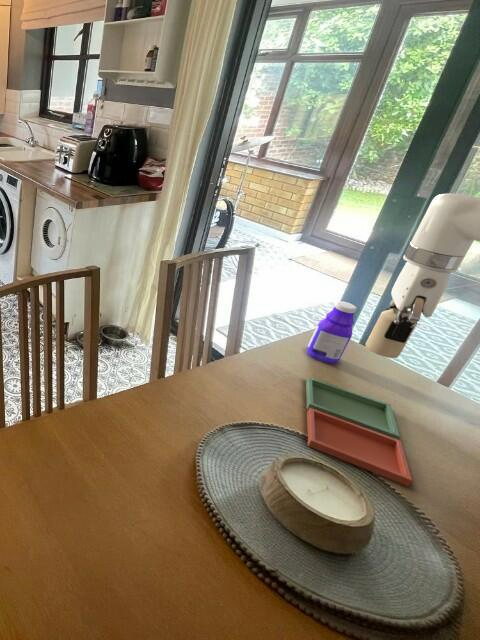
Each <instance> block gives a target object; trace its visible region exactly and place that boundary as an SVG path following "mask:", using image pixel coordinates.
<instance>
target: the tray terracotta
mask: <svg viewBox="0 0 480 640" xmlns="http://www.w3.org/2000/svg"><path fill="white" fill-rule="evenodd" d="M306 421H307V424H306V425H307V446H308V447H310V448H312V449H315V450H317V451H320V452H322V453H324V454H326V455H327V454H328V455H330V456H332V457H335V458H337V459H339V460H342V461H345V462H347V463H349V464H352V465H354V466H357V467H358V468H361V469H364V470H367V471H369V472H371V473H374V474H377V475H378V476H381V477H384V478H387V479H389V480H391V481H394V482H396V483H398V484H402V485H403V486H406V487H409V486H410V485H411V483H412V482H413V478H412V474H411V471H410V467H409V464H408V461H407V457H406V453H405V449H404V448H403V443H402V440H400V439H398V440H397V439H394V438H392V437H389V436H386V435H383V434H381V433H378V432H375V431H373V430H370V429H367V428H364V427H362V426H359V425H356V424H353V423H351V422H348V421H345V420H342V419H340V418H337V417H334V416H331V415H329V414H326V413H323V412H320V411H318V410H315V409H312V408H309V410H308V409H307V412H306Z"/></svg>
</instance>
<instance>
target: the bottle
mask: <svg viewBox="0 0 480 640" xmlns="http://www.w3.org/2000/svg"><path fill="white" fill-rule="evenodd" d="M356 310H357V306H356V305H354V304H352V303H350V302H347V301H339V300H338V301H336V303H335V305H334V307H333V309H332V310H331V311H329V312H327V313H326V314H325V316H326V317H325V318H323V319H321V320H320V321H319V322H318V323H317V325H316V326H315V329H314V331H313V334H312V335H311V338H310V340H309V342H308V344H307V347H306V348H307V355H308V356H309V357H311V358H312V359H315V360H317V361H320V362H324V363H327V364H336V363H338V362H339V361H340V360H341V357H342V356H343V354H344V352H345V350H346V348H347V346H348V345H349V342H350V340H351V338H352V337H353V325H354V324H355V321H354V315H355V313H356Z"/></svg>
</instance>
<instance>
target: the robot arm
mask: <svg viewBox="0 0 480 640" xmlns="http://www.w3.org/2000/svg"><path fill="white" fill-rule="evenodd" d="M475 241H476V242H479V243H480V197H479V196H474V195H473V196H472V195H468V194H461V193H452V192H451V193H442V194H438V195H436V196H435V197H434V198H433V199H432V200H431V202H430V204H429V206H428V207H427V210H426V212H425V213H424V216H423V218H422V219H421V221H420V223H419V226H418V228H417V229H416V231H415V233H414V235H413V236H412V239H411V241H410V243H409V245H408V247H407V249H406V251H405V253H404V254H403V256H402V259H403V260H404V261H405V265H403V268H402V269H401V270H400V273H399V274H398V277H397V278H396V280H395V281H394V284H393V287H392V289H391V294H390V296H391V297H392V299H391V301H390V302H389V303H388V305H387V308H386V309H385V311H387V310H390V309H393V308H396V309H398V310H399V311H398V313H397V316H396V318H395V321H392V322H391V324H390V325H389V327H388V329H387V331H386V333H385V335H384V337H385V338H387V339H390V340H394V341H398V342H401V343H405V342H406V340H407V338H408V337H409V335H410V333H411V331H412V329H413V328H414V327H415V324H416V323H417V324H418V322H420V320H421V316H422V315H423V316H424V317H425V318H430V317H432V316H433V314H434V312H435V310H436V308H437V307H438V305H439V302H440V300H441V298H442V296H443V294H444V292H445V290H446V288H447V285H448V283H449V280H450V277H451V274H452V273H455V272H457V270H459V268H460V266H461V264H462V263H463V260H464V258H465V257H466V256H467V254H468V252H469V250H470V248H471V247H472V244H473V243H474V242H475ZM409 309H410V310H409ZM403 313H407V314H409V315H408V316H404V317H402V315H403ZM415 328H416V327H415Z"/></svg>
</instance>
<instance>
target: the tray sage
mask: <svg viewBox="0 0 480 640" xmlns="http://www.w3.org/2000/svg"><path fill="white" fill-rule="evenodd" d="M305 393H306V410H307V411H308V410H309V408H312V409H315V410H318V411H320V412H323V413H326V414H329V415H331V416H334V417H337V418H340V419H342V420H345V421H348V422H351V423H353V424H356V425H359V426H362V427H364V428H367V429H370V430H373V431H375V432H378V433H381V434H383V435H386V436H389V437H392V438H394V439H397V440H399V439H400V432H399V428H398V425H397V422H396V419H395V415H394V411H393V408H392V404H391V403H388V402H385V401H382V400H379V399H375V398H372V397H370V396H366V395H363V394H361V393H358V392H354V391H351V390H348V389H346V388H343V387H339V386H336V385H334V384H330V383H328V382H325V381H321V380H319V379H316V378H312V377H310V376H309V377H307V380H305Z"/></svg>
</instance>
